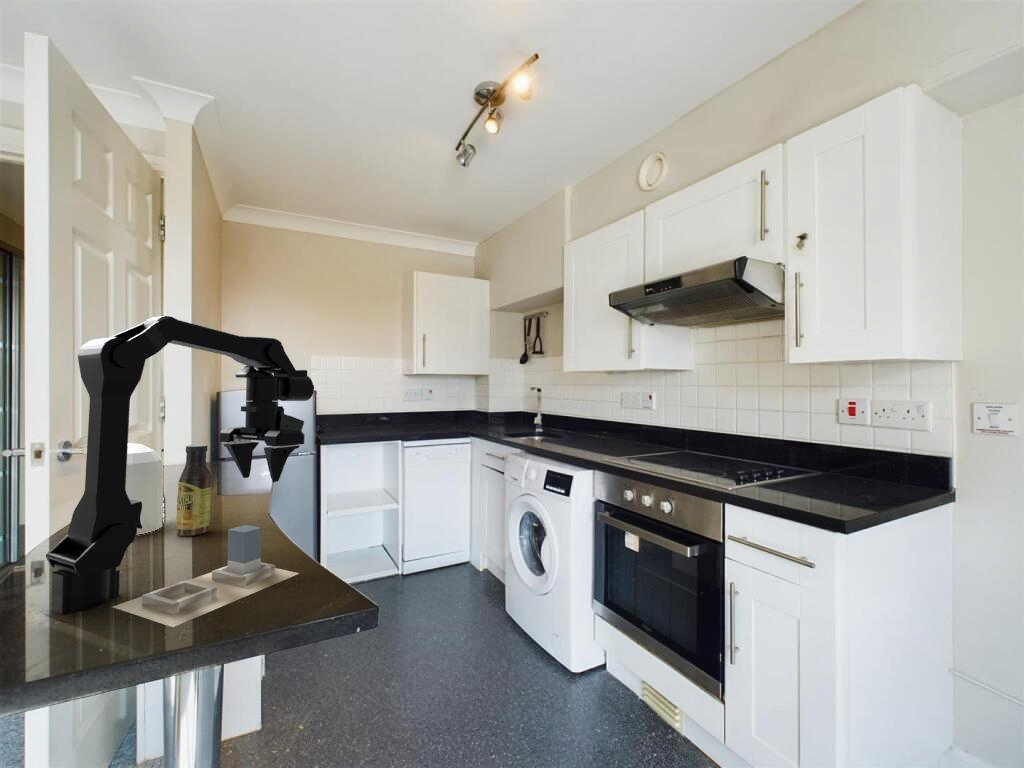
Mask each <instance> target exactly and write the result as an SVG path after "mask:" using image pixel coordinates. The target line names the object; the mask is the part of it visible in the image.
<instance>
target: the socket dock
mask: <svg viewBox="0 0 1024 768" xmlns="http://www.w3.org/2000/svg"><path fill="white" fill-rule="evenodd" d="M297 575H300V573H299V572H295V571H290V570H286V569H281V568H276V564H271V563H266V562H262V561H261V569H259V570H256V571H253V572H251V573H248V574H245V575H238V574H234V573H230V572H227V565H226V566H223V567H220V568H217V569H213V570H211V572H208V573H206V574H202V575H198V576H196V577H194V578H191V579H185V580H182V581H180V582H176V583H173V584H170V585H167V586H164V587H161V588H159V589H156V590H153V591H151V592H148V593H144V594H142V595H141V596H138V597H136V598H134V599H131V600H128V601H125V602H122V603H119V604H115V605H113V606H112V608H113V609H116V610H119V611H123V612H124V613H125V612H126V613H129V614H132V615H135V616H138V617H141V618H144V619H147V620H150V621H153V622H155V623H158V624H161V625H165V626H167V627H171V628H176V627H178V626H179V625H182V624H184V623H186V622H190V621H192V620H193V619H197V618H199V617H201V616H203V615H205V614H208V613H210V612H212V611H215V610H218V609H220V608H223V607H224V606H227V605H230V604H232V603H234V602H236V601H238V600H239V601H240V600H241V599H243V598H245V597H248V596H251V595H253V594H255V593H257V592H260V591H262V590H265V589H267V588H269V587H271V586H274V585H276V584H278V583H281V582H284V581H286V580H288V579H291V578H293V577H294V576H297Z"/></svg>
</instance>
